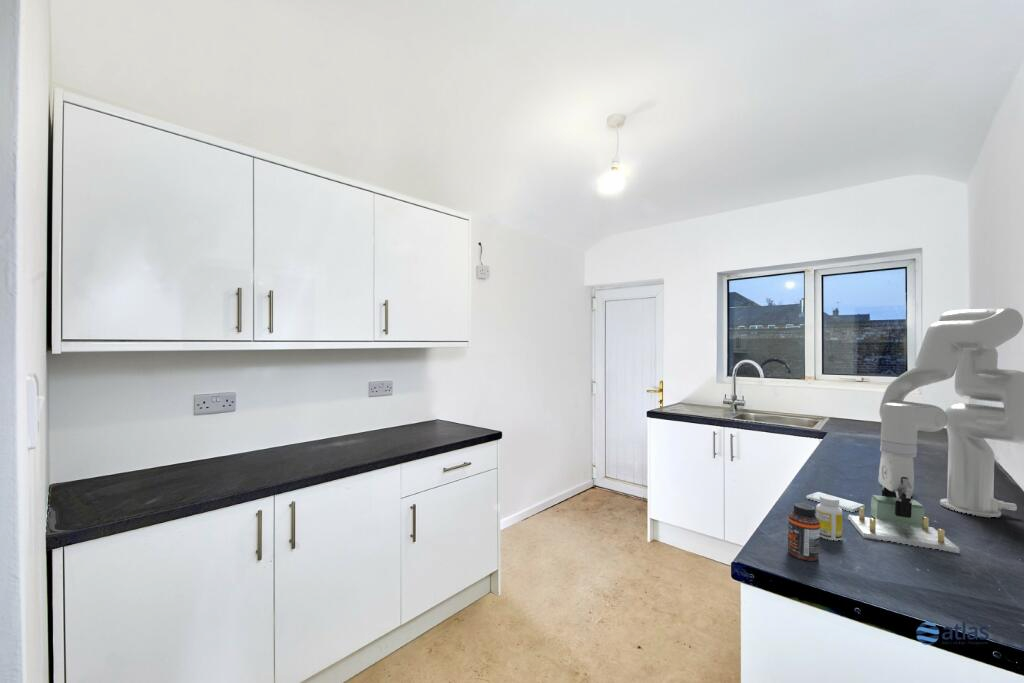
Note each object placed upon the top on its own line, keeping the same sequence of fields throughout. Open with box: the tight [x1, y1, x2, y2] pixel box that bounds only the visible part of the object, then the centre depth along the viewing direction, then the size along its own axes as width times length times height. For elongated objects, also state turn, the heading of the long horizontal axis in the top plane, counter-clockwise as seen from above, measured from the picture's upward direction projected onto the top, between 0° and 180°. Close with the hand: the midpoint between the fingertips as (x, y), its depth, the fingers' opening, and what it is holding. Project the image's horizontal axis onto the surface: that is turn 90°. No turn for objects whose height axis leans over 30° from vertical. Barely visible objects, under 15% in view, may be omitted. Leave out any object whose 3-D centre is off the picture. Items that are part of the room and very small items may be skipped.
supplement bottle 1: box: [787, 502, 821, 562], centre depth 99 cm, size 6×6×11 cm
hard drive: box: [805, 491, 866, 513], centre depth 133 cm, size 2×8×12 cm
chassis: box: [847, 507, 960, 554], centre depth 111 cm, size 18×13×4 cm
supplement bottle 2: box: [815, 494, 844, 542], centre depth 109 cm, size 5×5×10 cm
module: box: [870, 494, 926, 526], centre depth 120 cm, size 10×5×6 cm, turn 66°
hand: (895, 510), depth 120 cm, fingers open, 9 cm apart
